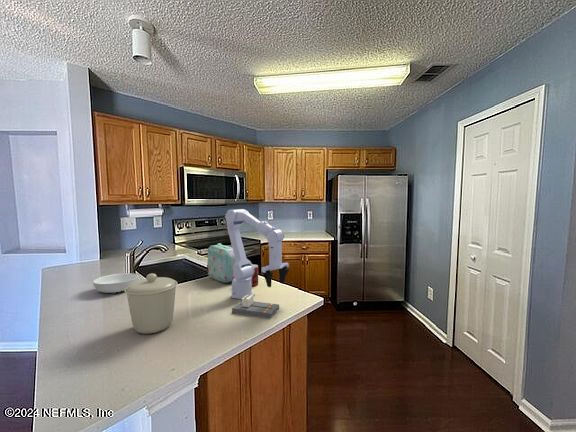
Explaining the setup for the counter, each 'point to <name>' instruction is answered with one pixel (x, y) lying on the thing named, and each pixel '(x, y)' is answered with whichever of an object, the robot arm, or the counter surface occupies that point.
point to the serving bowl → (114, 282)
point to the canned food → (255, 276)
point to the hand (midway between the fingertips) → (275, 285)
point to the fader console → (257, 309)
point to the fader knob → (247, 300)
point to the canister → (151, 303)
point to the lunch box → (221, 263)
